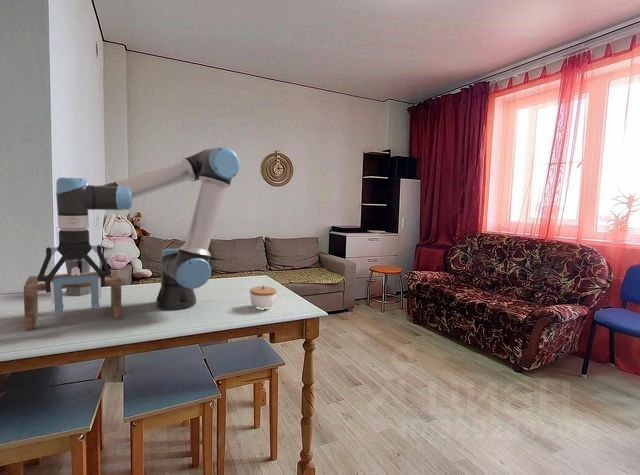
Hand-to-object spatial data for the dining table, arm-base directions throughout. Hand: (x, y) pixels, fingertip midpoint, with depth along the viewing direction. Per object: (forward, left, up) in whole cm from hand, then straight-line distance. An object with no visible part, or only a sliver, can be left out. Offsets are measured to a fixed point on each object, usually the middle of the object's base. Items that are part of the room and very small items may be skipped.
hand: (77, 299), depth 106 cm
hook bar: (+10, -13, +3) cm, 17 cm away
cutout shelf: (+10, -13, -11) cm, 19 cm away
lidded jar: (-51, -37, -11) cm, 63 cm away
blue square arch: (0, 0, -3) cm, 3 cm away
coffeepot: (+29, -39, -11) cm, 50 cm away
